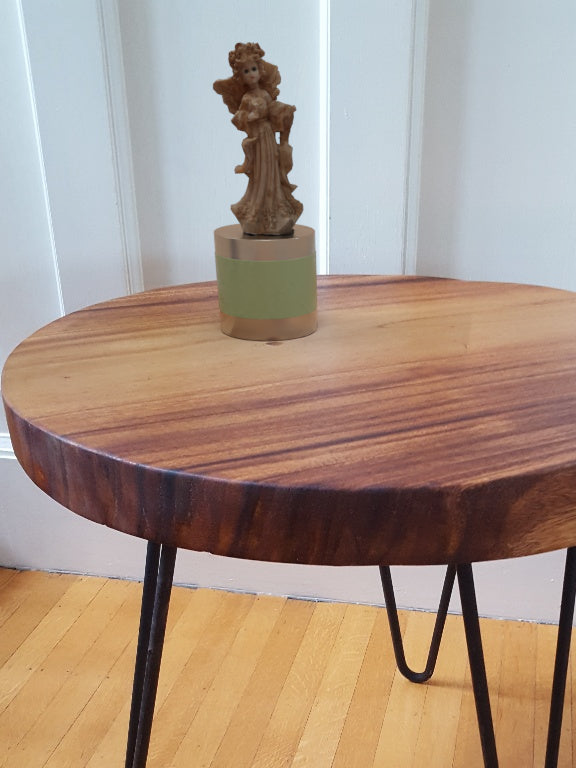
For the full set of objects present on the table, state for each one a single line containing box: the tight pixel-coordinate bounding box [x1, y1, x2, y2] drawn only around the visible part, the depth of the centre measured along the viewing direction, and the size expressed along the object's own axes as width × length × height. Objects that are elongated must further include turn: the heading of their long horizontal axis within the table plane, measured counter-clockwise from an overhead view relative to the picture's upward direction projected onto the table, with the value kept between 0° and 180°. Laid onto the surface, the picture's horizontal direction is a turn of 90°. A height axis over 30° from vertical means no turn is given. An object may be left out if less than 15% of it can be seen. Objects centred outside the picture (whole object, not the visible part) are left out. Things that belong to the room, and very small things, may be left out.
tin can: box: [213, 223, 318, 342], centre depth 93 cm, size 10×10×9 cm
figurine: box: [212, 41, 304, 235], centre depth 87 cm, size 7×6×15 cm
